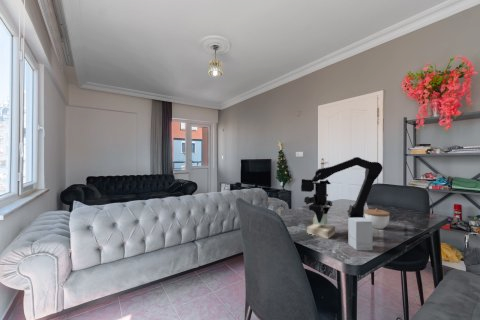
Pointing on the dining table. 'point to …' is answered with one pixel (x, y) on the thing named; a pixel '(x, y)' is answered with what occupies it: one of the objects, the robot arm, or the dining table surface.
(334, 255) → the dining table surface
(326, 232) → the birch block
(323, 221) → the sage cube
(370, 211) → the lidded bowl
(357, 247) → the supplement box
